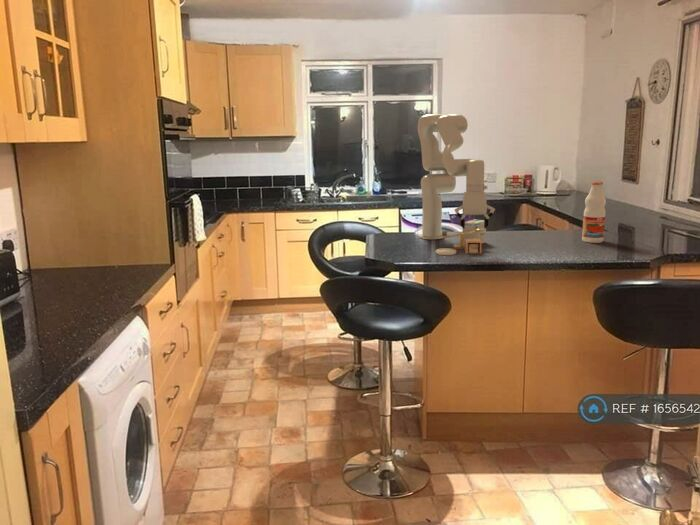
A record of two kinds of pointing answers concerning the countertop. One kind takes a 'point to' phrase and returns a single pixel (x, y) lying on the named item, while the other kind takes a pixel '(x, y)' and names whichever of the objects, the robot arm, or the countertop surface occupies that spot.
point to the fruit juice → (594, 214)
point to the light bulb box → (471, 227)
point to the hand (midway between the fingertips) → (474, 227)
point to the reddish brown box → (473, 242)
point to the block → (473, 247)
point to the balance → (461, 246)
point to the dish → (445, 251)
